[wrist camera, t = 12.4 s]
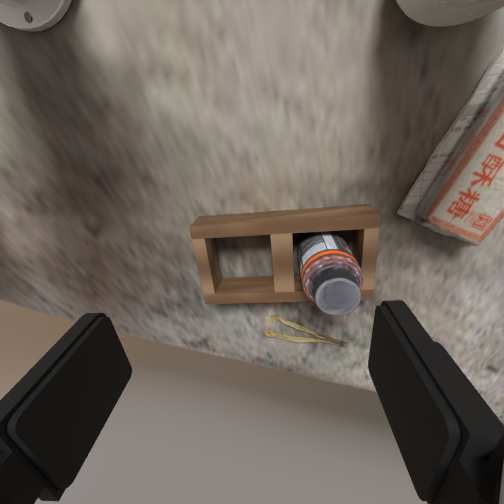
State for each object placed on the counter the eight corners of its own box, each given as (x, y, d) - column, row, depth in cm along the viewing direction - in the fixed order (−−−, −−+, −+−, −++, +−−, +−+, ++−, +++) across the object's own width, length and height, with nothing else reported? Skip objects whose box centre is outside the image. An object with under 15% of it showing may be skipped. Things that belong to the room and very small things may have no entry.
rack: (199, 216, 33) (189, 226, 29) (369, 204, 30) (381, 214, 27) (212, 287, 37) (205, 304, 34) (362, 282, 35) (372, 299, 31)
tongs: (346, 346, 40) (348, 356, 39) (264, 329, 41) (263, 338, 39) (354, 326, 39) (357, 335, 37) (269, 308, 39) (267, 316, 38)
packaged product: (496, 259, 27) (410, 224, 26) (466, 241, 31) (392, 211, 31) (675, 60, 19) (560, 5, 19) (603, 73, 24) (507, 29, 23)
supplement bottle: (351, 257, 33) (383, 313, 23) (308, 274, 35) (319, 333, 25) (334, 217, 31) (360, 258, 21) (289, 237, 33) (293, 284, 23)
